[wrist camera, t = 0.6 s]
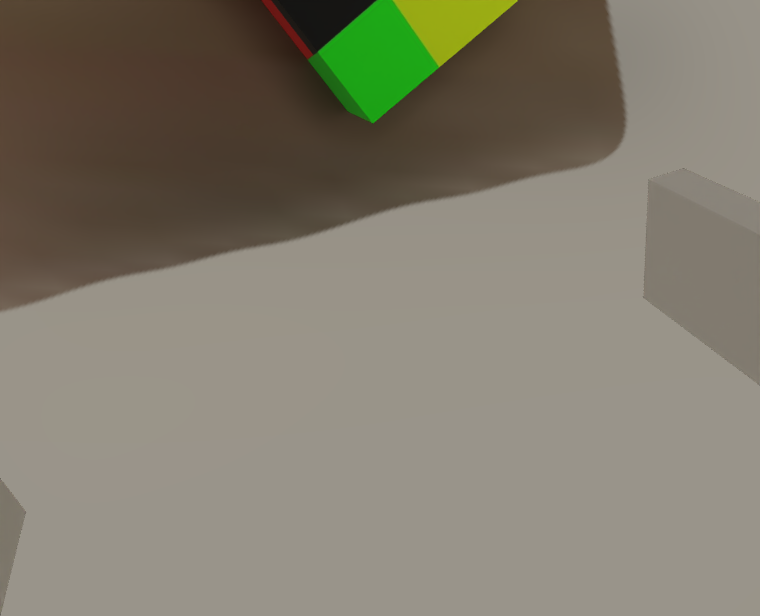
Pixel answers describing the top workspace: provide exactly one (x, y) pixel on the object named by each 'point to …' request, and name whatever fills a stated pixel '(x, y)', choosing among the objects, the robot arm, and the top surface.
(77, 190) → the top surface
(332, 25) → the puzzle toy
